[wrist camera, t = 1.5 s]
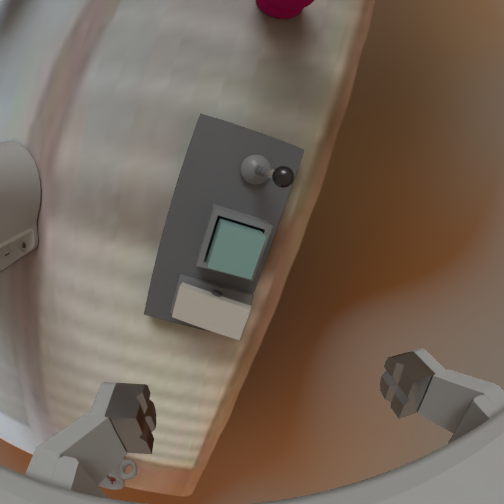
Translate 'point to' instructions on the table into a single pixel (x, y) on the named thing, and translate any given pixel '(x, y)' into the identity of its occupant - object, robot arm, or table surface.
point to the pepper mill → (283, 7)
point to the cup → (119, 475)
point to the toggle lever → (277, 175)
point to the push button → (235, 249)
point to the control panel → (218, 210)
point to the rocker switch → (211, 311)
